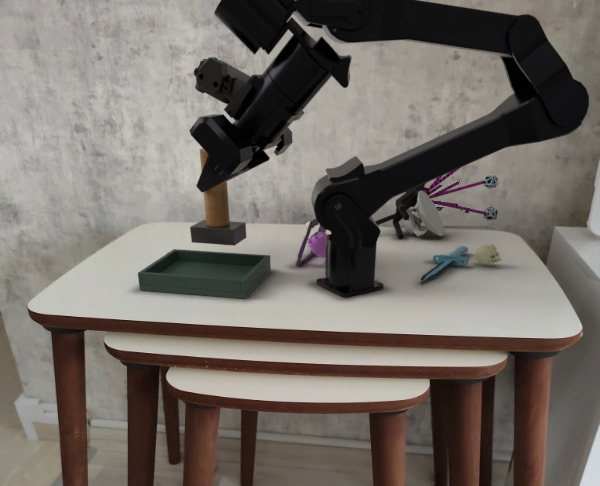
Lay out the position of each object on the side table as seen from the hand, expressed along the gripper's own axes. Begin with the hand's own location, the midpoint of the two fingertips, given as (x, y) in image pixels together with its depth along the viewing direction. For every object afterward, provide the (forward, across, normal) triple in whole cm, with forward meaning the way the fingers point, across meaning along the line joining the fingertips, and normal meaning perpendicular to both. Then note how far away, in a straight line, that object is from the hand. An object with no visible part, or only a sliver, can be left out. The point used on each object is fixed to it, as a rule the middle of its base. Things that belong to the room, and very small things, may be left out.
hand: (205, 186), depth 76 cm
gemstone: (-16, -16, +33) cm, 40 cm away
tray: (+8, +1, +8) cm, 12 cm away
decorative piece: (-4, -24, +18) cm, 31 cm away
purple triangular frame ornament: (0, -12, +17) cm, 21 cm away
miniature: (-12, -30, +24) cm, 40 cm away
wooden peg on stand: (+4, 0, +6) cm, 7 cm away
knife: (-11, -14, +27) cm, 32 cm away
